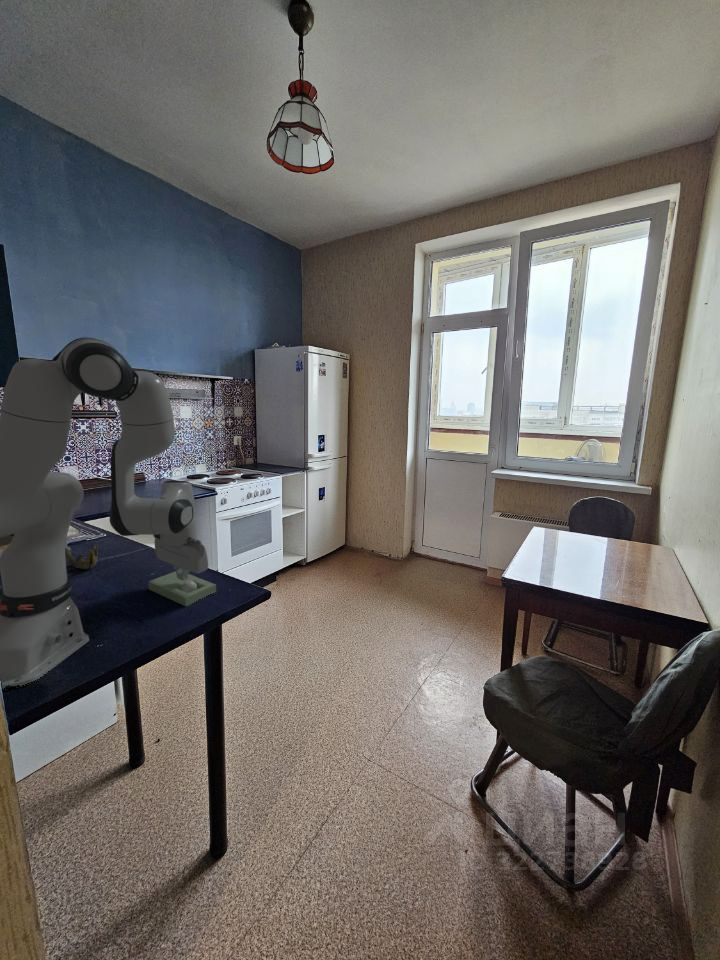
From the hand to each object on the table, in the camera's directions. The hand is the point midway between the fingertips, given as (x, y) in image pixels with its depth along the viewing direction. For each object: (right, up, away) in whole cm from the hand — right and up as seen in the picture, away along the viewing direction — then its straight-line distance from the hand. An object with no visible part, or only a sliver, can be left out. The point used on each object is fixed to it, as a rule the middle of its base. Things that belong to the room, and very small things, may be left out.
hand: (182, 579), depth 115 cm
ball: (+3, -2, -1) cm, 4 cm away
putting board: (0, -4, +1) cm, 4 cm away
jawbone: (-39, 0, +16) cm, 43 cm away
